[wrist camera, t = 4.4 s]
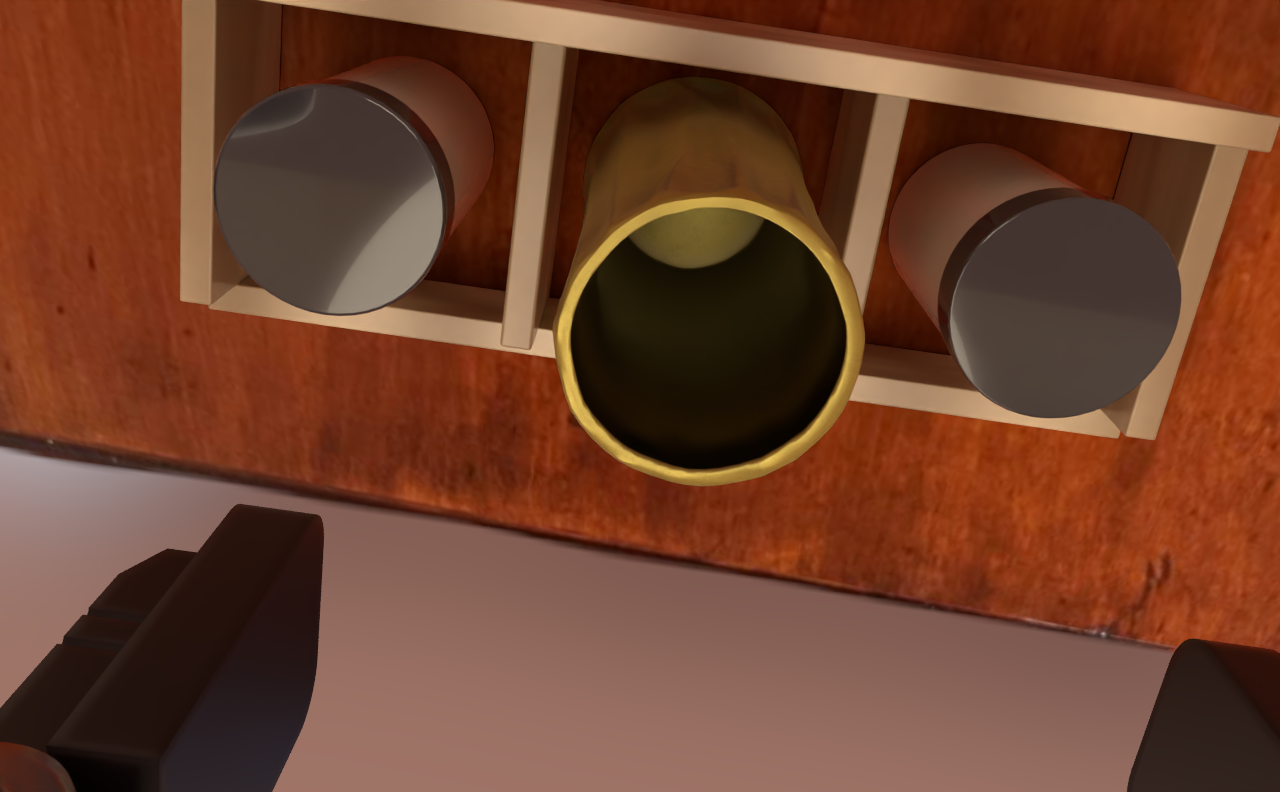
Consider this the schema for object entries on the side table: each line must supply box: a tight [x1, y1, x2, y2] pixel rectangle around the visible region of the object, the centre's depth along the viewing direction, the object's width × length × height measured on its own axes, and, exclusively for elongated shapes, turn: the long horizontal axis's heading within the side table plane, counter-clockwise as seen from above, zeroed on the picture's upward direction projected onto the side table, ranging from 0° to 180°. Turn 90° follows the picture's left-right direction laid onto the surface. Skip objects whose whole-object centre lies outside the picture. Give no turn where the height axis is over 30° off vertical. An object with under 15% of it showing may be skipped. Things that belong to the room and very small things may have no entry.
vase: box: [552, 76, 865, 486], centre depth 26 cm, size 6×6×14 cm
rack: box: [180, 0, 1280, 440], centre depth 30 cm, size 25×9×6 cm, turn 82°
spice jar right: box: [888, 143, 1182, 418], centre depth 30 cm, size 5×5×8 cm
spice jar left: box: [213, 56, 494, 316], centre depth 29 cm, size 5×5×8 cm
